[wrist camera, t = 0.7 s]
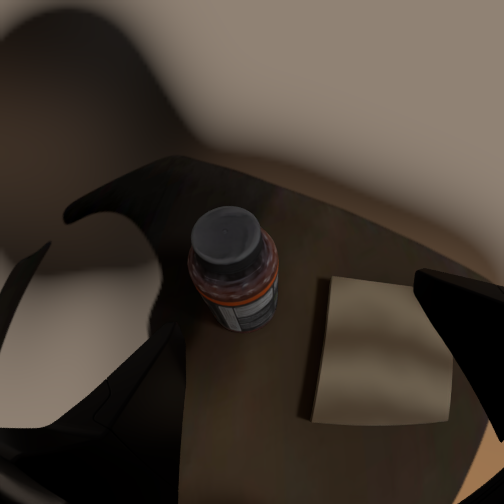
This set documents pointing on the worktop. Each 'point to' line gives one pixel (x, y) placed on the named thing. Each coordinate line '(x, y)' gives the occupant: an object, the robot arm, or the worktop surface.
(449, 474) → the worktop surface
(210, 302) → the supplement bottle
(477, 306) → the robot arm
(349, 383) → the beige square board
